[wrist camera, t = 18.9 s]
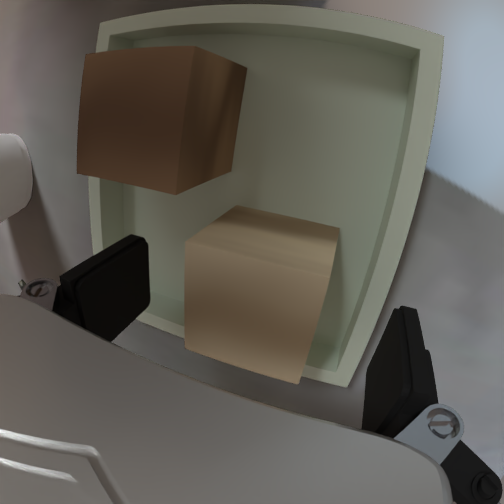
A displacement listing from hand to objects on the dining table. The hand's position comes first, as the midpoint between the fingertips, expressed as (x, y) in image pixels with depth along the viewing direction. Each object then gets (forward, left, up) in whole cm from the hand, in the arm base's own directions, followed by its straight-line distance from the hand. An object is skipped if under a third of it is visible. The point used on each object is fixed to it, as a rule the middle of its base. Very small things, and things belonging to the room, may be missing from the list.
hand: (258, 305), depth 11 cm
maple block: (0, 0, -4) cm, 4 cm away
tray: (-3, -2, -4) cm, 6 cm away
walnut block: (-6, -5, -4) cm, 9 cm away
